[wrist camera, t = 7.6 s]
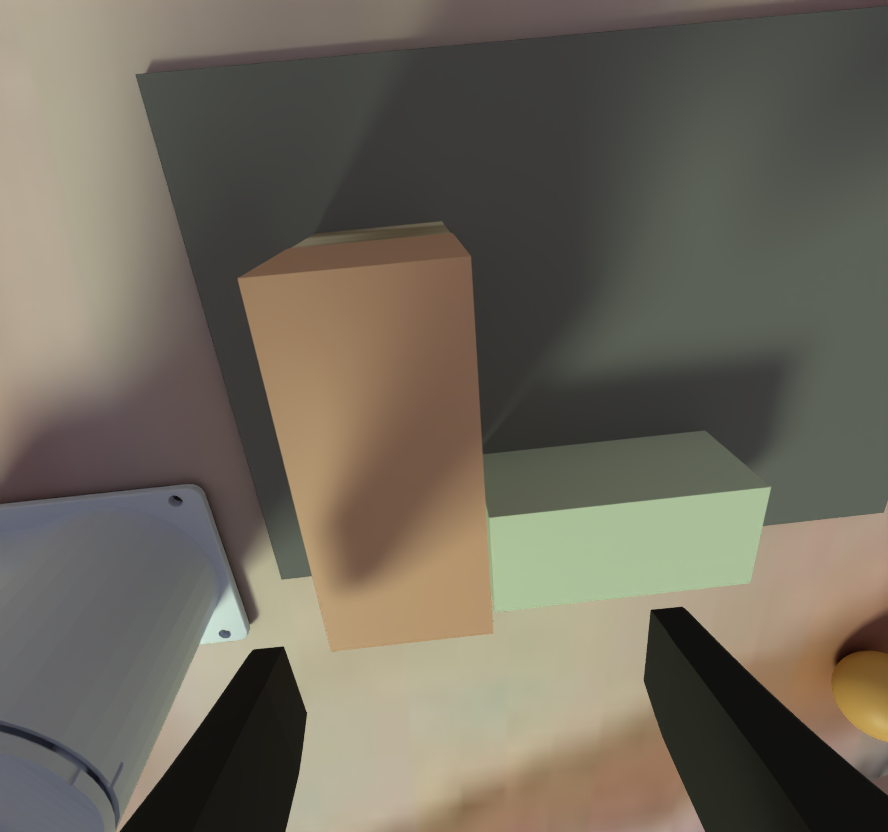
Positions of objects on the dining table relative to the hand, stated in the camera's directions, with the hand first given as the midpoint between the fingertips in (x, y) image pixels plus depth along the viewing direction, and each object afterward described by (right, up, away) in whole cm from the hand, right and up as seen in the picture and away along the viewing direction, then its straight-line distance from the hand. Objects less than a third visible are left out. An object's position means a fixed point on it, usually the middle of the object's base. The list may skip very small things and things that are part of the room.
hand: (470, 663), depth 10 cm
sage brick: (+5, +2, +10) cm, 12 cm away
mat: (+5, +8, +8) cm, 12 cm away
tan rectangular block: (-2, +5, +4) cm, 7 cm away
